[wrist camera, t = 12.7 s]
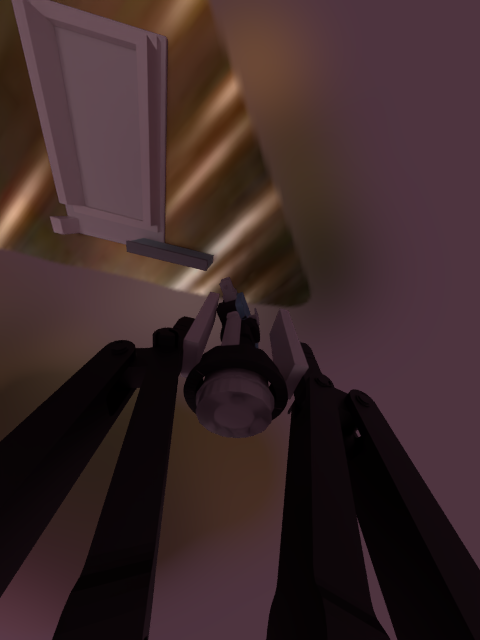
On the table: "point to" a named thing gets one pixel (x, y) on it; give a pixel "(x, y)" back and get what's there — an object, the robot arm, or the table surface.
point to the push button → (236, 375)
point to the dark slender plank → (170, 253)
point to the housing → (100, 118)
